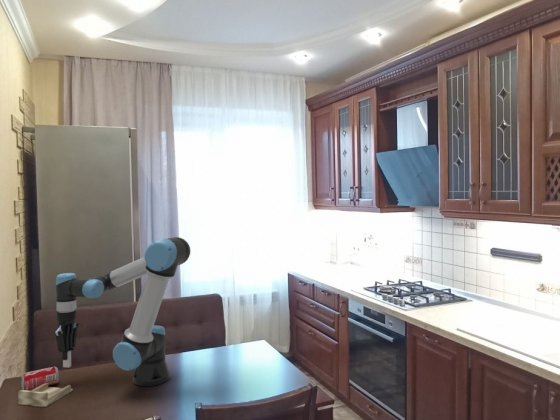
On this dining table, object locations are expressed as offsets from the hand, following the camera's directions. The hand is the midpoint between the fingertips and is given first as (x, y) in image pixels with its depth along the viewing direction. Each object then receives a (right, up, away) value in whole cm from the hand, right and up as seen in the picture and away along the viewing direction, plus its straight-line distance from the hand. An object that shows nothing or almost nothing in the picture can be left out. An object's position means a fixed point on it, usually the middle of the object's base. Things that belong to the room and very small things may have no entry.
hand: (67, 366), depth 181 cm
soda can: (-5, -4, +2) cm, 7 cm away
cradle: (-2, -8, -11) cm, 13 cm away
